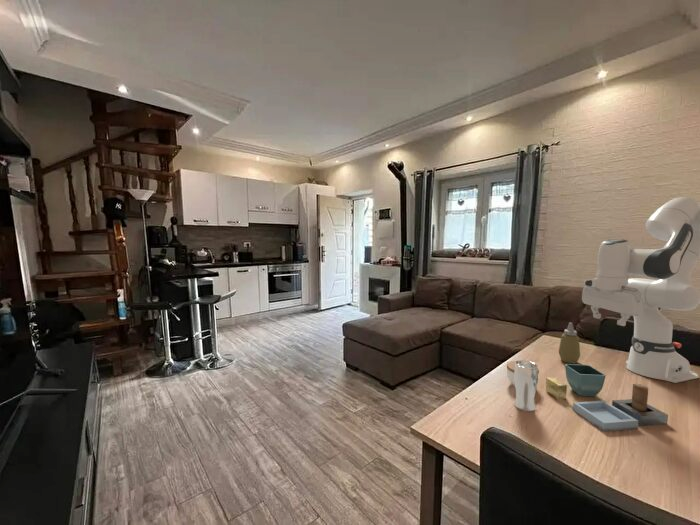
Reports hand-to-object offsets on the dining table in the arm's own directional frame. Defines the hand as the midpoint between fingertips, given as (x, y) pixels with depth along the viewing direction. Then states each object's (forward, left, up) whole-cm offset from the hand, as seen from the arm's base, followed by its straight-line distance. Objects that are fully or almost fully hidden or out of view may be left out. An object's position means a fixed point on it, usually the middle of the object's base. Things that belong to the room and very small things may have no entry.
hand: (608, 321), depth 109 cm
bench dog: (+20, +1, -26) cm, 33 cm away
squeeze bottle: (-8, -25, -26) cm, 37 cm away
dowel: (+4, +16, -26) cm, 31 cm away
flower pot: (+9, +1, -26) cm, 28 cm away
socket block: (+4, +16, -26) cm, 31 cm away
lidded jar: (+28, -6, -26) cm, 39 cm away
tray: (+16, +16, -26) cm, 35 cm away
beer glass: (+36, +7, -26) cm, 45 cm away
